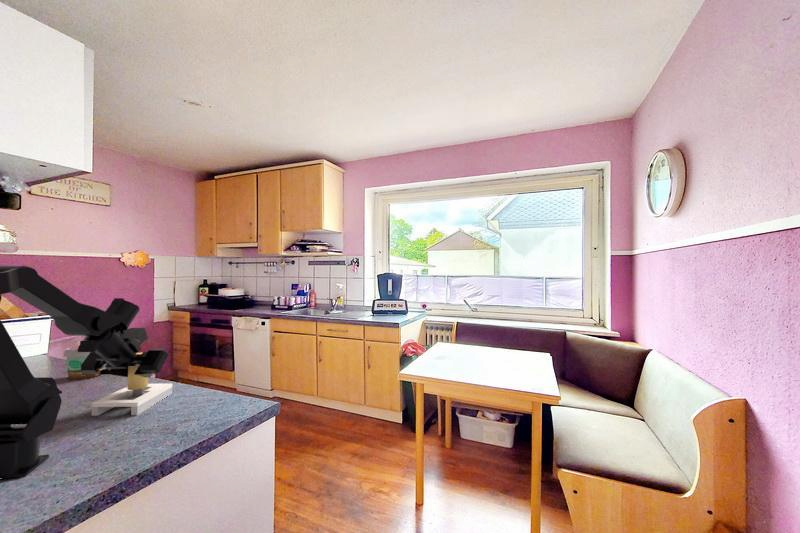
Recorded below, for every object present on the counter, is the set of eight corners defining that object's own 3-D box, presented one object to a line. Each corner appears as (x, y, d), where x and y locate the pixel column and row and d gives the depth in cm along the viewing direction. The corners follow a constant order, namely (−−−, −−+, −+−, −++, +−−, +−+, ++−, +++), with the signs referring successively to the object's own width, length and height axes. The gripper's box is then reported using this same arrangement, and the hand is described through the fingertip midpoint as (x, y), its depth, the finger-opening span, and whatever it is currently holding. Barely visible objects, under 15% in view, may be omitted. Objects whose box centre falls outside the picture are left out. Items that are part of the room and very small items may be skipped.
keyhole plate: (137, 415, 83) (137, 402, 83) (91, 415, 82) (91, 403, 82) (172, 394, 96) (172, 383, 97) (133, 394, 96) (133, 383, 96)
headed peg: (149, 401, 90) (151, 354, 91) (129, 406, 87) (131, 357, 87) (144, 397, 93) (145, 351, 93) (124, 402, 89) (126, 354, 90)
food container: (52, 383, 104) (53, 351, 104) (66, 376, 110) (67, 347, 110) (98, 380, 107) (99, 349, 108) (109, 374, 113) (110, 345, 114)
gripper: (165, 319, 87) (188, 350, 98) (91, 319, 86) (123, 350, 97) (143, 357, 79) (171, 386, 90) (61, 357, 78) (99, 386, 89)
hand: (141, 376), depth 91 cm, fingers closed on headed peg, 4 cm apart
